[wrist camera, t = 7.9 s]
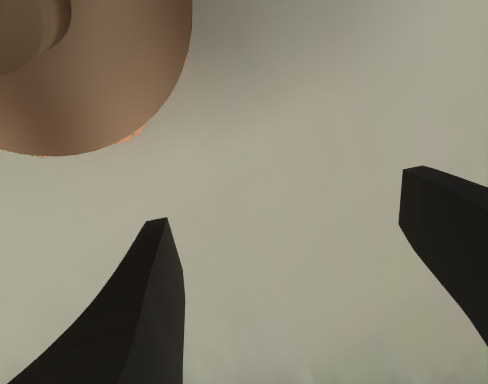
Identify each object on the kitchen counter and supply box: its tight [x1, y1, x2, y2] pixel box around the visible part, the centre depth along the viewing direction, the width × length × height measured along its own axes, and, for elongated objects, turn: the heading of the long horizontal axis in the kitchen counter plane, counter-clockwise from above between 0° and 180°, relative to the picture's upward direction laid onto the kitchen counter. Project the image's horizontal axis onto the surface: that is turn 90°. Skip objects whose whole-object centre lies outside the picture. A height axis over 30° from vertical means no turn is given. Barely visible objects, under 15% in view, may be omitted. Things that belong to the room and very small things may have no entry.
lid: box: [0, 0, 192, 156], centre depth 12 cm, size 11×11×4 cm
